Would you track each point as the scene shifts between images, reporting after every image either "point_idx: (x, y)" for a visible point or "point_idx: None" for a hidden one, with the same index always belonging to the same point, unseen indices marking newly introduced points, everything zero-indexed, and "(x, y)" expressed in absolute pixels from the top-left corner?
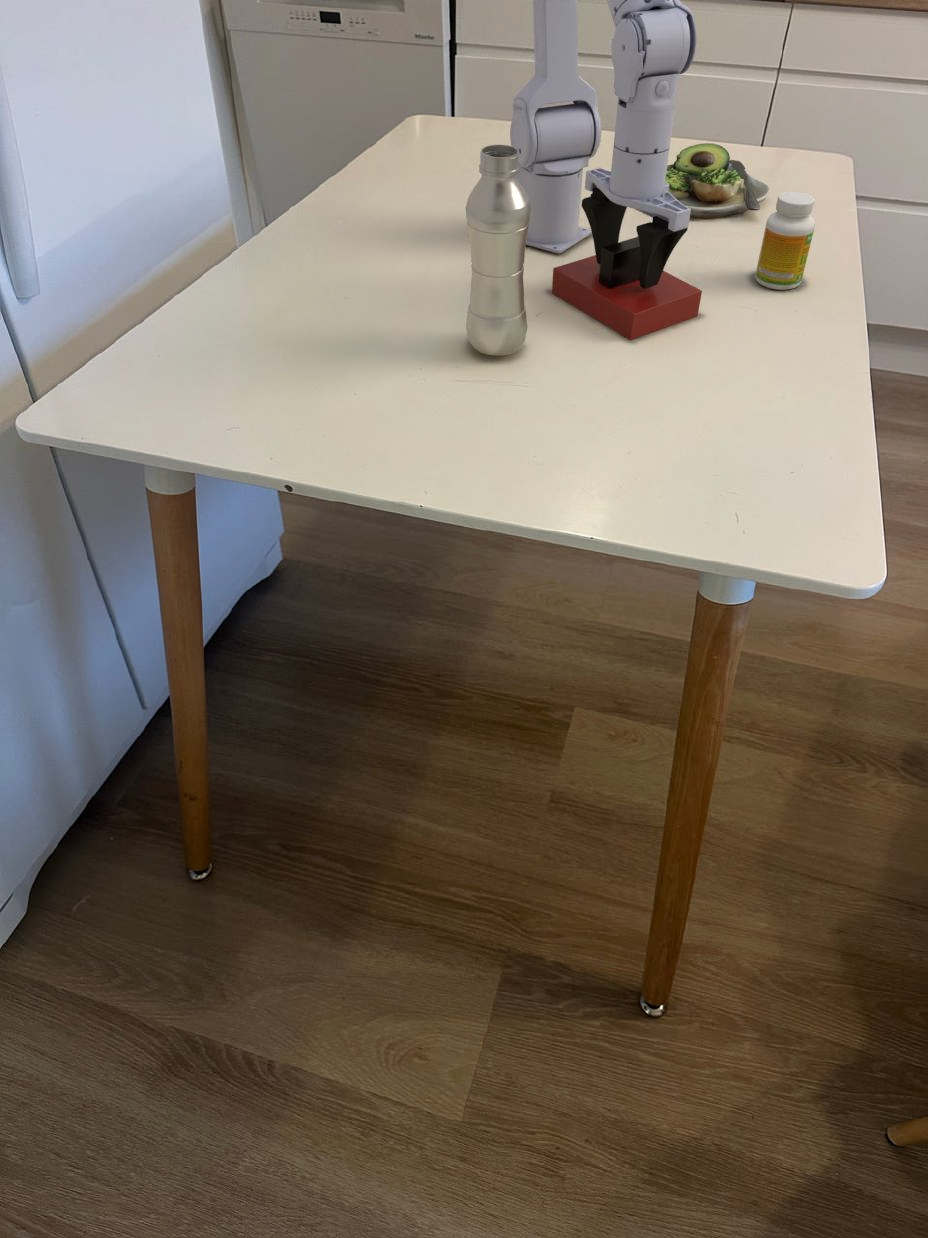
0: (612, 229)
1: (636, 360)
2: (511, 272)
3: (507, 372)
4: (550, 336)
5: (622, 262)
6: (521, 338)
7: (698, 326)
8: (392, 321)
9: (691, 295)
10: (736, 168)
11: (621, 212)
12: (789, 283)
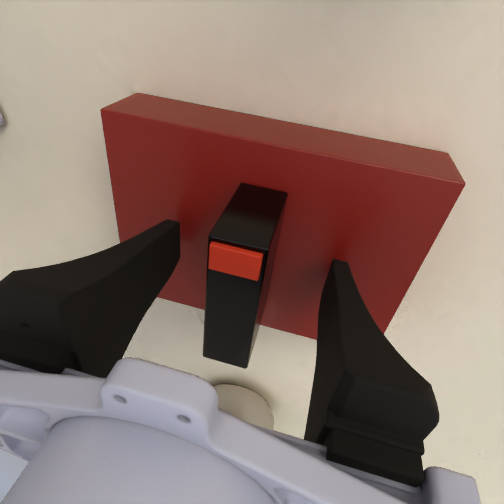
0: (136, 284)
1: (417, 353)
2: None
3: (291, 424)
4: (263, 354)
5: (258, 323)
6: (272, 427)
7: (473, 196)
8: None
9: (445, 220)
10: None
11: (107, 293)
12: None
